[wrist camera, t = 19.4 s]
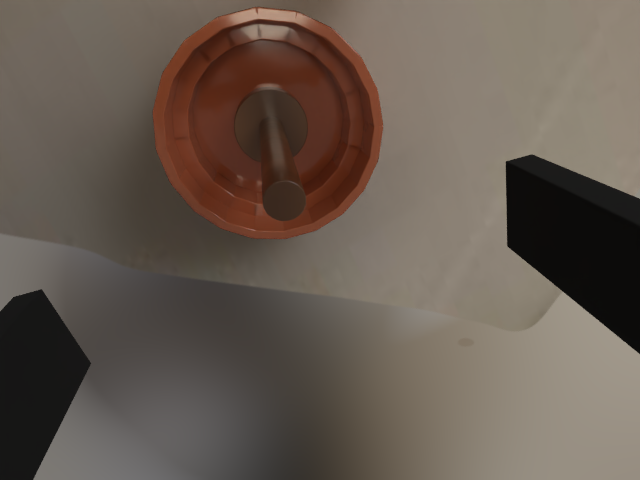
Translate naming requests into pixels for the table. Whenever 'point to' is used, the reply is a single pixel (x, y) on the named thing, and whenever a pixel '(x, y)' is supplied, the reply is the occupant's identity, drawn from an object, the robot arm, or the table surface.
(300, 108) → the dark brown rod
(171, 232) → the table surface
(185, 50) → the bowl
